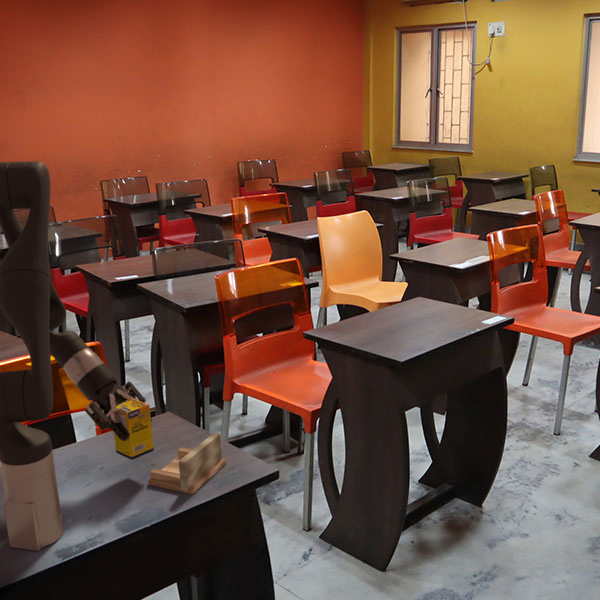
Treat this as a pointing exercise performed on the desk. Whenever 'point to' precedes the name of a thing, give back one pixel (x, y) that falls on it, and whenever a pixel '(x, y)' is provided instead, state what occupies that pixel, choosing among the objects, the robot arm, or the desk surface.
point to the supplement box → (134, 429)
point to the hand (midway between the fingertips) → (138, 431)
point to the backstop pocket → (190, 467)
